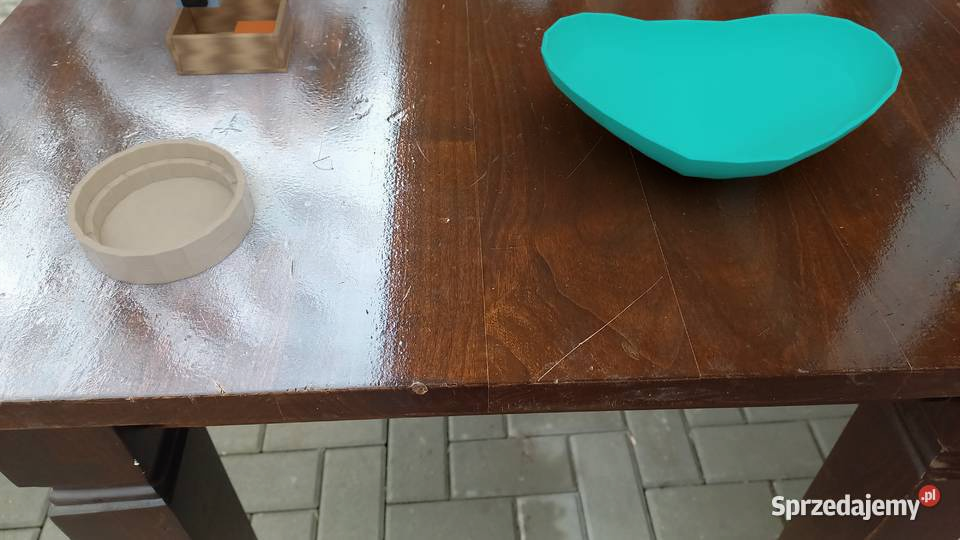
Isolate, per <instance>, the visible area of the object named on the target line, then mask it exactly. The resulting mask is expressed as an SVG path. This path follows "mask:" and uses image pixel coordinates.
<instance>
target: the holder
mask: <svg viewBox="0 0 960 540" xmlns="http://www.w3.org/2000/svg"><path fill="white" fill-rule="evenodd" d="M290 6H291V5H290V1H289V0H222V1H221V4H220V7H209V8H177V7H176V10H175V12H174V15H173V17H172V20H171V23H170V25H169V27H168V30H167V32H166V35H165V37H164V40H165V42H166V45H167V49H168V51H169V53H170V56H171V59H172V61H173V64H174V67H175V69H176V73H177V75H178V76H198V75H199V76H201V75H203V76H204V75H237V74H239V75H241V74H274V73H275V74H276V73H288V68H289V63H290V57H291V53H292V47H293V42H294V37H295V31H296V30H295V26H294V20H293V16H292V12H291V7H290ZM273 20H276V24H275V28H274V32H273V33H242V34H234V31H235V28H236V25H237V21H273Z"/></svg>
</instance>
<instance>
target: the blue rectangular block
mask: <svg viewBox="0 0 960 540" xmlns="http://www.w3.org/2000/svg"><path fill="white" fill-rule="evenodd" d="M173 1H174V4H175V6H176V9H177V8H185V7H183V5H182V3H181V0H173ZM221 1H222V0H208V6H207V7H193V8H209V7H220V4H221Z"/></svg>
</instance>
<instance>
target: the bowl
mask: <svg viewBox="0 0 960 540" xmlns="http://www.w3.org/2000/svg"><path fill="white" fill-rule="evenodd" d="M255 211H256V209H255V206H254V202H253V198H252V195H251V191H250V188H249V185H248V181H247V179H246V175H245V173H244V170H243V166H242V164H241V163H240V162H239V161H238V159H236V157H235V156H234V155H233V154H232V153H231V151H229V150H227V149H225V148H223V147H221V146H219V145H216V144H215V143H213V142H209V141H204V140H199V139H194V138H162V139H157V140H153V141H148V142H143V143H139V144H135V145H133V146H131V147H127V148H126V149H123V150H120V151H119V152H116V153H113V154H111V155H110V156H108V157H107V158H105V159H104V160H102V161H101V162H99V163H98V164H97V165H95V166H92V168H90V170H88V172H87V173H86V174H85V175H84V176H83V177H81V179H80V180H79V181H78V182H77V183H76V185H74V187H73V189H72V192H71V194H70V196H69V198H68V201H67V203H66V225H67V226H68V228H69V229H70V231H71V233H72V234H73V236H74V237H75V239H76V240H77V242H78V244H79V246H80V247H81V249H82V250H83V252H84V253H85V255H86V256H87V258H88V260H89V261H90V263H91V264H92V266H93V268H95V270H97V271H99V272H100V273H102V274H103V275H105V276H107V277H109V278H110V279H111V280H115V281H119V282H125V283H128V284H133V285H138V286H140V285H141V286H144V285H162V284H164V285H165V284H170V283H173V282H178V281H180V280H183V279H188V278H191V277H196V276H198V275H199V274H201V273H203V272H205V271H207V270H209V269H211V268H212V267H215V266H217V265H219V264H220V263H222V262H223V261H224V260H225V259H226V258H227V257H229V256H230V255H231V254H232V253H233V252H235V251H236V250H237V249H238V248H239V247H240V246H241V244H242V243H243V241H244V239H245V238H246V237H247V235H248V233H249V232H250V231H251V229H252V226H253V221H254V215H255Z"/></svg>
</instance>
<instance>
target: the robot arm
mask: <svg viewBox="0 0 960 540" xmlns="http://www.w3.org/2000/svg"><path fill="white" fill-rule="evenodd" d="M181 3H182V5H183V7H185V8H193V7H207V6H208V0H181Z"/></svg>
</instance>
